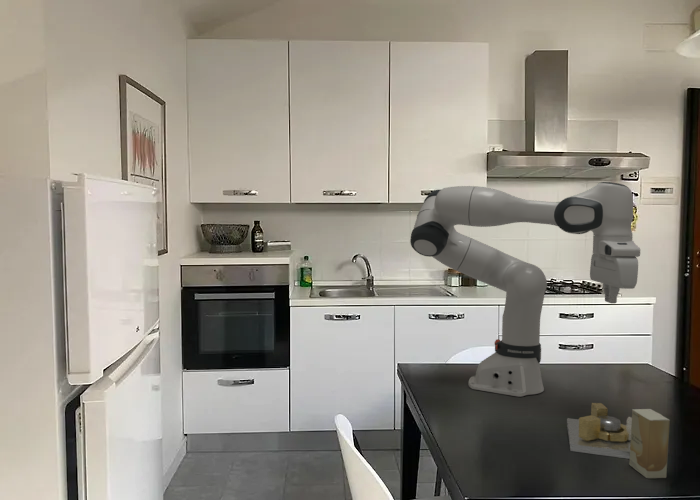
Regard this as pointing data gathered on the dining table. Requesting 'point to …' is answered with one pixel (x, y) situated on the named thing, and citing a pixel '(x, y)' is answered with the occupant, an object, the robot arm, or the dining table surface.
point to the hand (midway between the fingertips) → (610, 302)
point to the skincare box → (649, 443)
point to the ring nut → (591, 426)
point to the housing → (599, 445)
